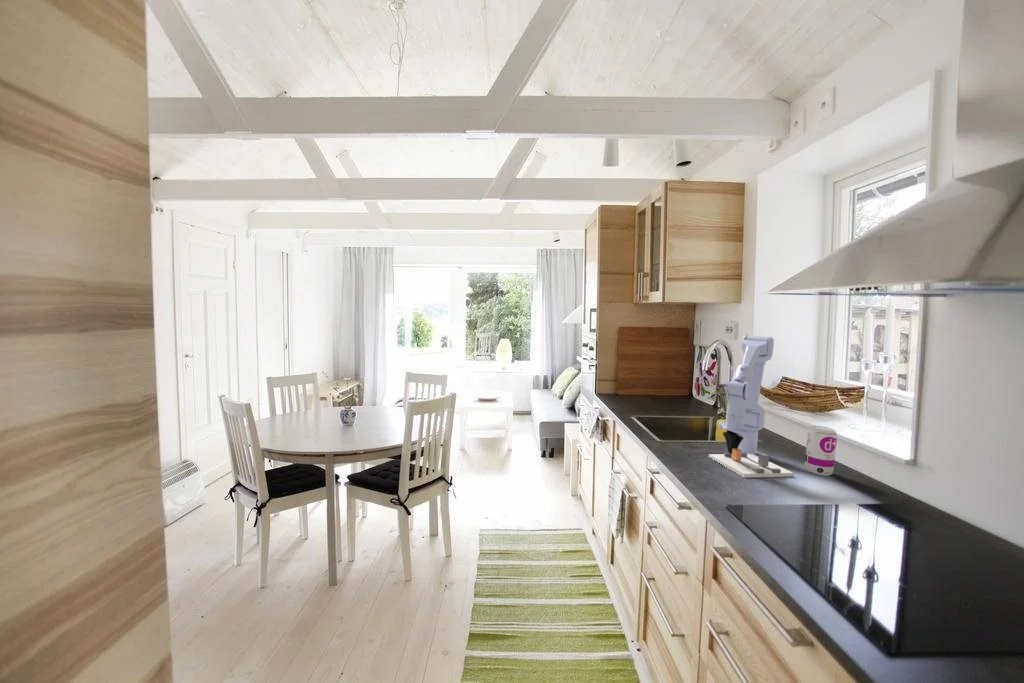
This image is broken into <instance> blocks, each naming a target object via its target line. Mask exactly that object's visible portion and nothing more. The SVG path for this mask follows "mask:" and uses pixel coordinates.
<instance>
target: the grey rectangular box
mask: <svg viewBox="0 0 1024 683" xmlns="http://www.w3.org/2000/svg"><path fill="white" fill-rule="evenodd" d="M758 456H759V458H758V464H759V465H761V466H768V463H769V462H770V461H769V460H770V455H768V454H766V453H763V452H761V453H759V454H758Z"/></svg>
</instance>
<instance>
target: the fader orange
mask: <svg viewBox="0 0 1024 683" xmlns="http://www.w3.org/2000/svg"><path fill="white" fill-rule="evenodd" d="M741 456H742V450H740V449H738V448H732V457H731V458H732V459H734V460H735V461H741Z"/></svg>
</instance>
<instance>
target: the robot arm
mask: <svg viewBox="0 0 1024 683" xmlns="http://www.w3.org/2000/svg"><path fill="white" fill-rule="evenodd" d="M774 341H775V340H774V338H773V337H772V336H761V335H758V336H757V335H748V334H745V335H744V336H743V337H742V340H741V350H742V351H743V359H742V362H741V364H739V365H738V366H737V367H736V369H735V370H734V374H733V376H732V379H731V380H730V381H728V382H727V384H726V387H725V394H726V403H727V406H726V414H725V415H726V416H725V422H724V421H722V422H721V421H719V422H718V428H719V429H722V430H725V431H724V432H722V435H723V436H724V439H725V443H726V446H727V453H730V454H732V448H738V449H740V450H742V453H743V452H745V453H747V454H754V455H759V453H762V452H761V451H759V450H758V438H759V431H761V430H762V429H763V428H764V425H765V423H766V422H765V420H766V417H765V416H766V411H765V408H763V406H761V405H760V404H759V399H760V394H761V388H762V383H763V376H764V371H765V365H766V363H767V362H769V361H770V360H771V359H772V357H773V354H774V353H773V352H774V345H775V342H774Z"/></svg>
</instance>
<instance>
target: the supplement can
mask: <svg viewBox="0 0 1024 683" xmlns="http://www.w3.org/2000/svg"><path fill="white" fill-rule="evenodd" d="M806 439H807V440H806V447H805V457H804V469H805V470H806V471H807V472H808V473H810V472H811V474H813V475H818V476H823V477H825V476H827V477H828V476H831V475H833V474H834V467H835V460H836V453H837V452H836V450H837V443H838V434H837V431H836V429H834V428H831V427H826V426H821V425H811V426H810V428H809V429H808V430H807V438H806Z"/></svg>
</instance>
